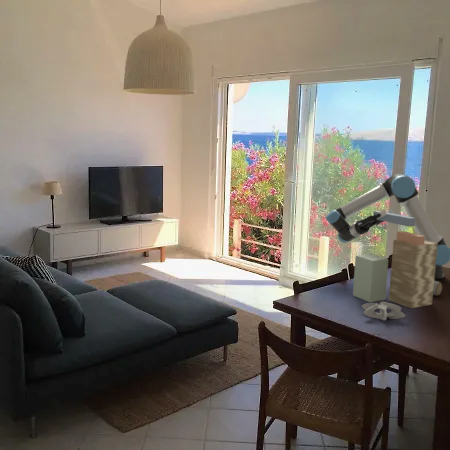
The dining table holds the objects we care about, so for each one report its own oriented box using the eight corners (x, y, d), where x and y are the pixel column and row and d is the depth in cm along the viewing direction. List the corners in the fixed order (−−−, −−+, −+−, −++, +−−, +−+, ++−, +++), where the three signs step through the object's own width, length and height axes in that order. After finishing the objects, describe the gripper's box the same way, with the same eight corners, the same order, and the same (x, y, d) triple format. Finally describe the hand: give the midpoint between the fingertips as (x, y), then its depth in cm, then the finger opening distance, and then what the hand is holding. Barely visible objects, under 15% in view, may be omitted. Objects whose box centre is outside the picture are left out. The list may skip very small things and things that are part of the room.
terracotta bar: (396, 239, 253) (397, 231, 252) (402, 239, 255) (403, 231, 254) (417, 245, 242) (418, 236, 241) (424, 244, 244) (424, 235, 243)
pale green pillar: (352, 295, 264) (355, 255, 260) (368, 292, 269) (370, 253, 265) (369, 302, 254) (372, 260, 250) (385, 299, 258) (388, 258, 255)
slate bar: (373, 218, 272) (373, 211, 272) (379, 218, 274) (379, 210, 273) (408, 226, 251) (409, 218, 251) (414, 226, 253) (415, 217, 253)
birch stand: (409, 296, 265) (414, 237, 259) (432, 304, 253) (437, 243, 247) (388, 299, 258) (393, 239, 253) (411, 308, 246) (416, 245, 241)
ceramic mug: (436, 297, 263) (438, 282, 262) (420, 293, 269) (421, 279, 267) (444, 293, 271) (445, 279, 270) (428, 290, 276) (430, 275, 275)
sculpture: (369, 307, 246) (370, 294, 245) (411, 317, 234) (413, 304, 233) (352, 317, 233) (353, 303, 232) (396, 328, 221) (397, 314, 219)
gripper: (373, 233, 287) (403, 218, 268) (349, 235, 280) (378, 220, 260) (369, 220, 290) (399, 204, 270) (345, 222, 282) (374, 205, 262)
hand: (388, 212), depth 265 cm, fingers closed on slate bar, 4 cm apart
